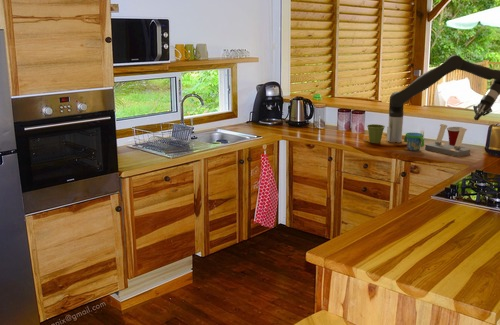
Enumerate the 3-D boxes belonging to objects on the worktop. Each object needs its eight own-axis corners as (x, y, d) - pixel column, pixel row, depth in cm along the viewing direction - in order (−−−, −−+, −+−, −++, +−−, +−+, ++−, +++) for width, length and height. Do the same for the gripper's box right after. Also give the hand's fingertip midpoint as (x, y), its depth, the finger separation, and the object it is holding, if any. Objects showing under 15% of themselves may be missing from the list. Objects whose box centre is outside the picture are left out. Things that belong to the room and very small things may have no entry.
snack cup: (428, 151, 345) (429, 135, 342) (414, 153, 341) (415, 137, 339) (412, 146, 359) (413, 131, 357) (399, 147, 356) (400, 132, 353)
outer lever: (458, 148, 336) (464, 128, 335) (453, 147, 339) (459, 127, 338) (460, 149, 337) (466, 129, 337) (455, 148, 340) (461, 128, 340)
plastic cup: (441, 145, 363) (443, 127, 360) (454, 143, 367) (456, 125, 364) (452, 148, 353) (454, 130, 350) (466, 147, 357) (468, 128, 354)
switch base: (457, 156, 332) (458, 151, 331) (425, 149, 351) (425, 144, 350) (469, 154, 338) (470, 149, 338) (437, 146, 358) (437, 142, 357)
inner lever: (439, 144, 347) (445, 124, 347) (434, 143, 350) (440, 123, 349) (441, 145, 349) (447, 125, 348) (436, 144, 351) (442, 124, 351)
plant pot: (363, 143, 369) (364, 126, 366) (368, 139, 379) (369, 123, 376) (381, 145, 363) (382, 128, 361) (386, 141, 374) (387, 125, 371)
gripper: (478, 93, 350) (464, 114, 346) (497, 95, 339) (483, 117, 336) (482, 100, 354) (468, 121, 351) (501, 103, 344) (487, 125, 340)
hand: (475, 119), depth 343 cm, fingers closed
